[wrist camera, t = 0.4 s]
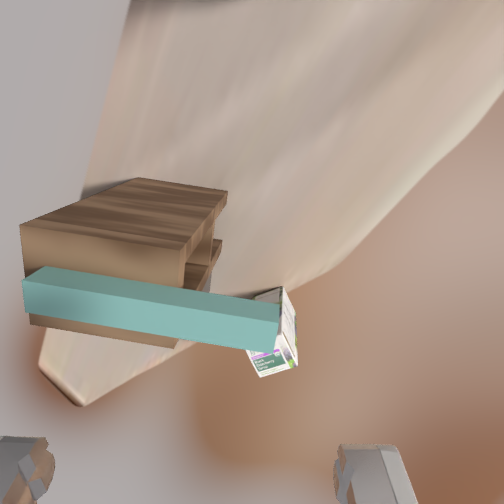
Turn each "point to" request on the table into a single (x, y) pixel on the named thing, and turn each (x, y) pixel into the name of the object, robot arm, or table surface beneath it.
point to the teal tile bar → (152, 308)
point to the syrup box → (278, 337)
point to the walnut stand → (129, 243)
